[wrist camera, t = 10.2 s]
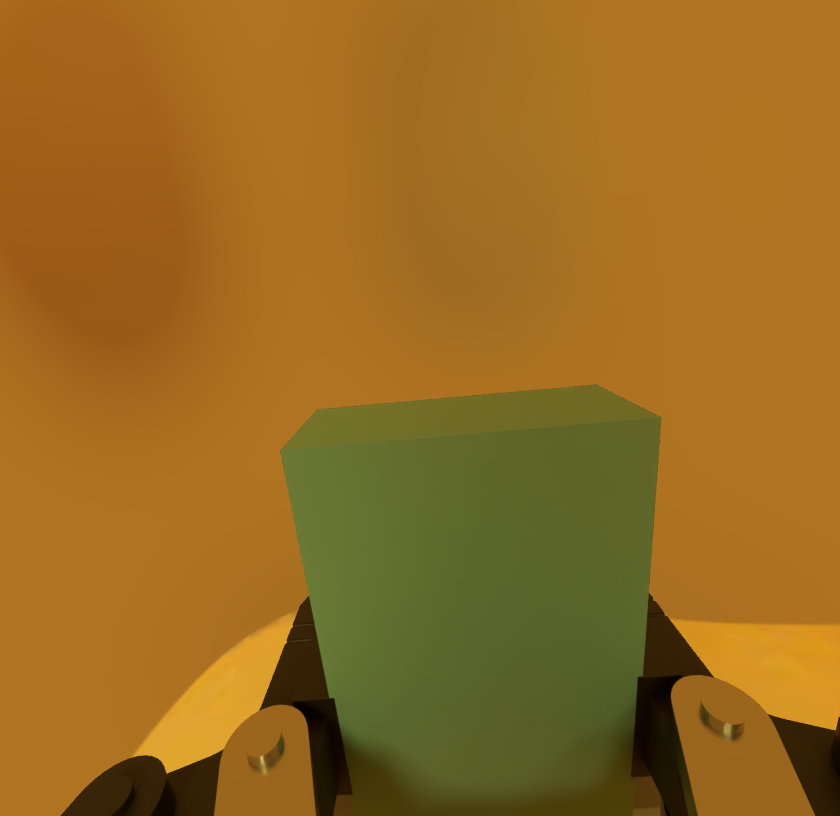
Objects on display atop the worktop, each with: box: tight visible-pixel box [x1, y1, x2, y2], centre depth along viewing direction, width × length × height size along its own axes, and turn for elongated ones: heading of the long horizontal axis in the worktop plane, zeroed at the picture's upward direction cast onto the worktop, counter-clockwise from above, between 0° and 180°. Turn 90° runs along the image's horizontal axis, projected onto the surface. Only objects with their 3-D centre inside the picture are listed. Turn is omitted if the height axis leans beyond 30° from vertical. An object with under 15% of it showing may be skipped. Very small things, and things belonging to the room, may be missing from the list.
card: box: [280, 385, 661, 816], centre depth 8 cm, size 5×2×12 cm, turn 90°
